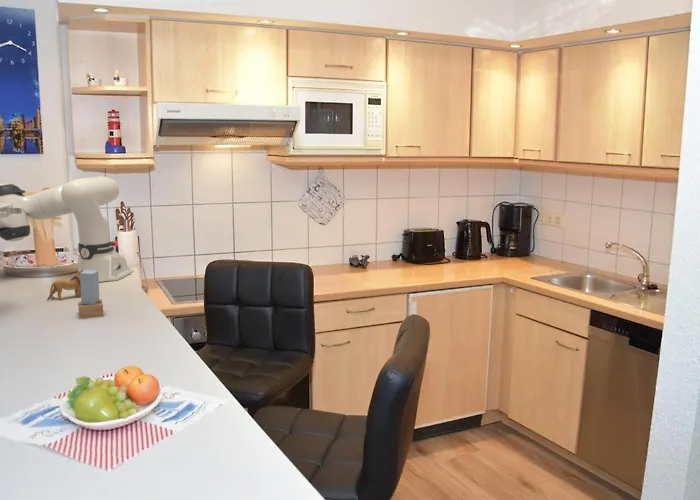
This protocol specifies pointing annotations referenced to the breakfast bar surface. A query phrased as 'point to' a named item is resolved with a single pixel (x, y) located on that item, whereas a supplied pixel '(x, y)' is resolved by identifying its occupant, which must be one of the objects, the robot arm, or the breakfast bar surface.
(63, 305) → the breakfast bar surface
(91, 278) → the tall block
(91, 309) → the base brick
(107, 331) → the breakfast bar surface
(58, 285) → the lion figurine
